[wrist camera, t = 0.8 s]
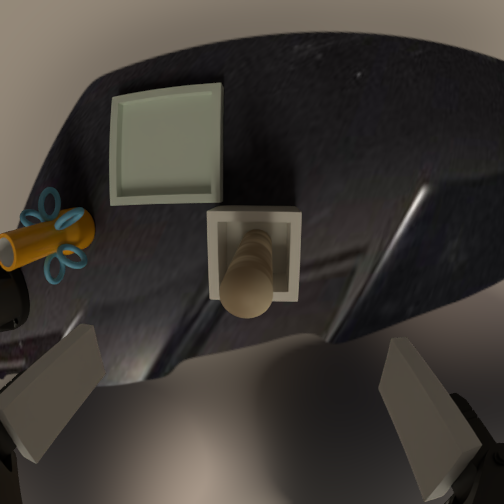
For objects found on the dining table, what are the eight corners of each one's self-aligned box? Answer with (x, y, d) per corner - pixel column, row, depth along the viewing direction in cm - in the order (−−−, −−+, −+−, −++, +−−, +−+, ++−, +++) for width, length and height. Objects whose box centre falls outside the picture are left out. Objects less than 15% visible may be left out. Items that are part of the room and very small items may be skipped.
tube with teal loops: (52, 186, 36) (-23, 196, 21) (108, 182, 35) (30, 189, 21) (58, 266, 39) (-10, 300, 24) (111, 271, 38) (45, 315, 23)
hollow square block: (220, 277, 37) (209, 299, 30) (219, 205, 35) (206, 211, 28) (292, 279, 37) (297, 301, 30) (295, 206, 35) (301, 212, 28)
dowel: (241, 258, 36) (220, 317, 20) (241, 228, 35) (218, 267, 19) (271, 259, 36) (272, 318, 20) (272, 229, 35) (273, 268, 19)
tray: (118, 204, 36) (110, 205, 34) (120, 100, 32) (112, 97, 30) (223, 201, 35) (220, 202, 33) (224, 88, 32) (221, 82, 30)
